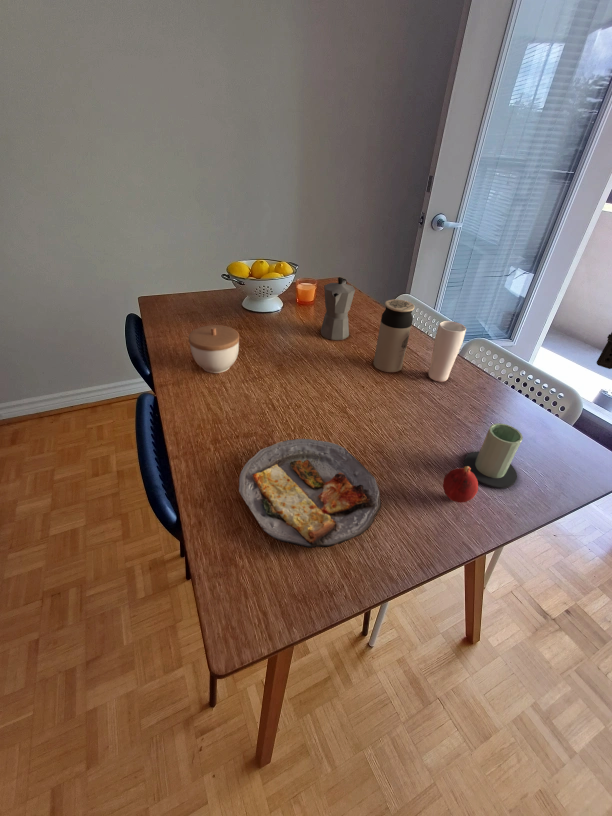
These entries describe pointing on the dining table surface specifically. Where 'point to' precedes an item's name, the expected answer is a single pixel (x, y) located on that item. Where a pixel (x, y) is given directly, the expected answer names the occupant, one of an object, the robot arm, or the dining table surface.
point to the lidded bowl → (214, 347)
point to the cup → (498, 450)
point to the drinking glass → (446, 349)
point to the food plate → (309, 493)
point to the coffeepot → (337, 309)
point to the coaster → (488, 481)
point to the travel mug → (393, 335)
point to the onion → (460, 484)
